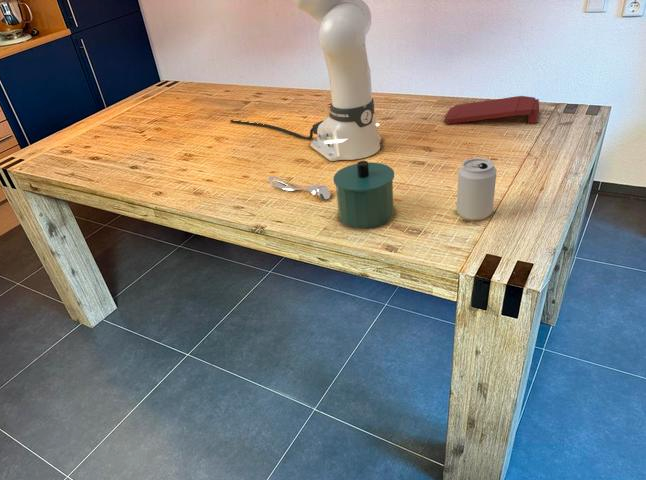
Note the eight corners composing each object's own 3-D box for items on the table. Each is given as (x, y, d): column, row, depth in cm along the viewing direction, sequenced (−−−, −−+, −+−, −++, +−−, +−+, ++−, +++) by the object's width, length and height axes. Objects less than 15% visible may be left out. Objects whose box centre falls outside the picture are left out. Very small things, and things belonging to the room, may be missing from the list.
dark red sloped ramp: (445, 135, 155) (535, 125, 142) (443, 119, 153) (535, 108, 140) (453, 120, 164) (539, 109, 150) (451, 105, 161) (539, 93, 148)
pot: (329, 222, 118) (325, 185, 113) (356, 197, 125) (353, 162, 120) (376, 233, 111) (374, 194, 106) (402, 206, 119) (401, 169, 113)
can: (494, 222, 108) (499, 170, 101) (457, 223, 109) (460, 172, 102) (490, 204, 113) (495, 154, 106) (455, 205, 115) (457, 156, 108)
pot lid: (322, 188, 113) (320, 171, 111) (353, 163, 121) (351, 147, 118) (375, 198, 105) (374, 181, 103) (404, 171, 113) (404, 154, 111)
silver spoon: (262, 174, 135) (274, 167, 138) (264, 186, 138) (275, 178, 140) (322, 193, 124) (333, 184, 127) (323, 205, 126) (334, 197, 129)
